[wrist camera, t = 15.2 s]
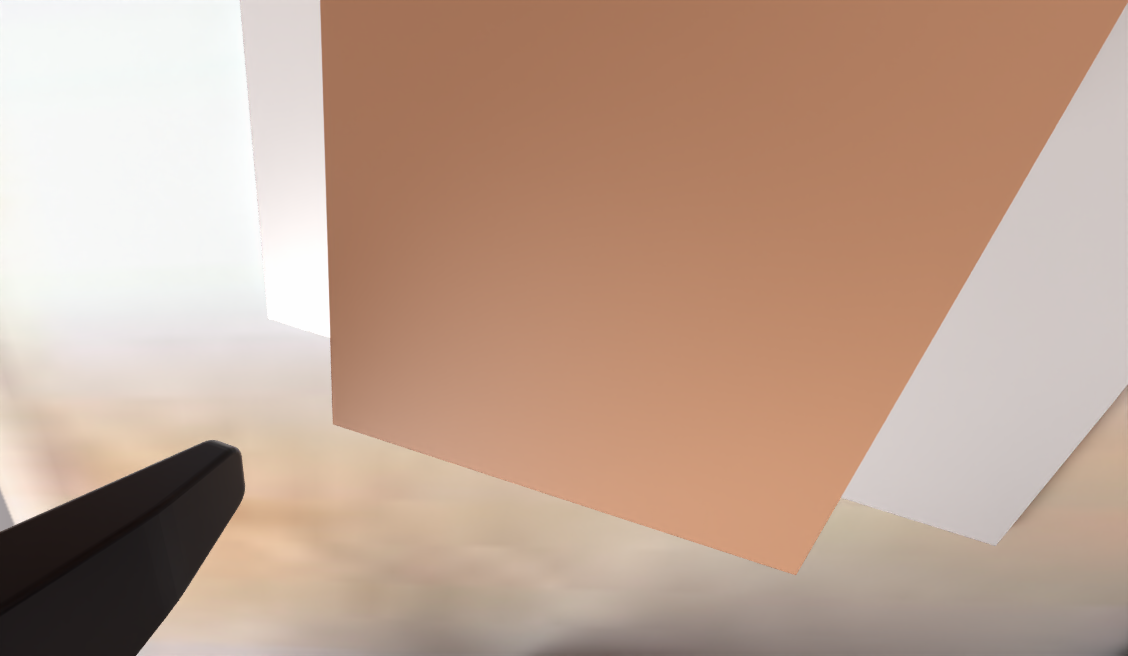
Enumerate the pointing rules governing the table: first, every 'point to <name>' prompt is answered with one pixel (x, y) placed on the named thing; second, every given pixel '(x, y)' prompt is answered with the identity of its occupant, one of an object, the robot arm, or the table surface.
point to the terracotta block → (670, 233)
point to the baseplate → (956, 353)
